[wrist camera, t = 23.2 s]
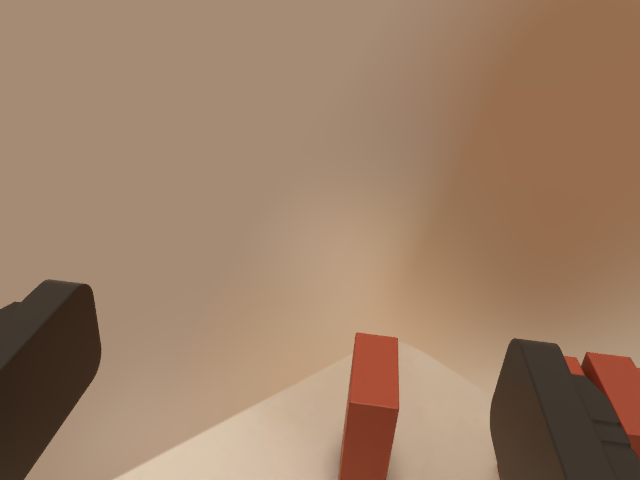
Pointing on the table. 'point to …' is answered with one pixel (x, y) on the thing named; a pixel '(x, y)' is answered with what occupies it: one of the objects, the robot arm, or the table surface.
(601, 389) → the red books
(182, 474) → the table surface
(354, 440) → the red book
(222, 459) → the table surface
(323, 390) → the table surface
